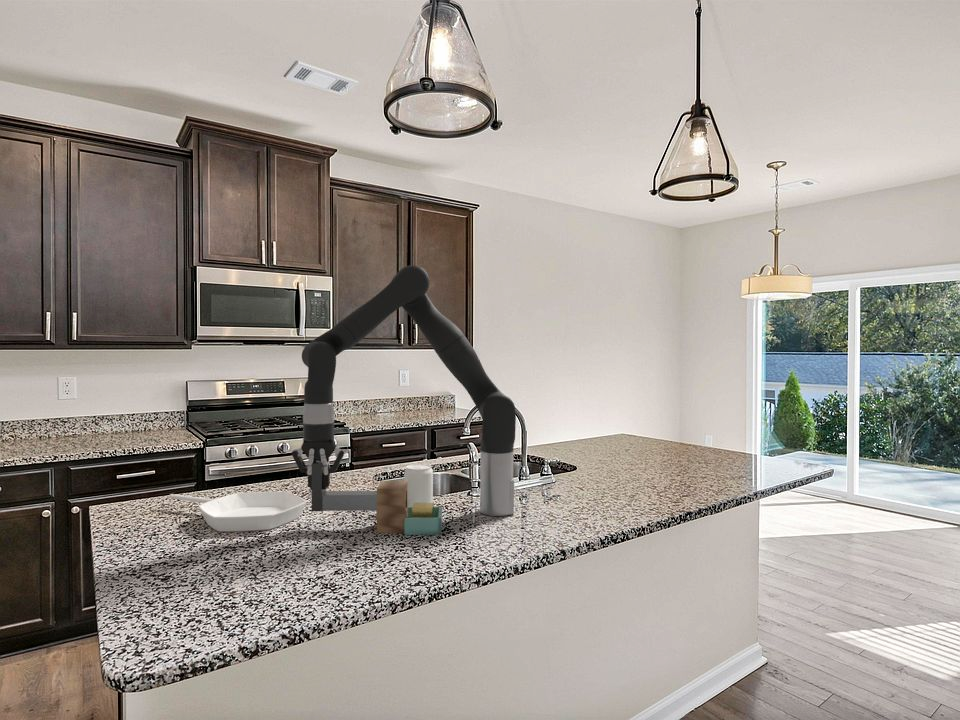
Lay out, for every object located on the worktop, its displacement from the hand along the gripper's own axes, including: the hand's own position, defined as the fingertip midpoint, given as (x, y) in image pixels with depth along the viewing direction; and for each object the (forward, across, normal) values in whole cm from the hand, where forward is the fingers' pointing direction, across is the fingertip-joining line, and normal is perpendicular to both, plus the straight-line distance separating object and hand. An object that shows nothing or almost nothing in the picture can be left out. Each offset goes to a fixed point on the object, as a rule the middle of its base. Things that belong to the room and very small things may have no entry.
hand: (318, 488), depth 152 cm
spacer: (+7, -24, 0) cm, 25 cm away
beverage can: (+10, -24, -18) cm, 32 cm away
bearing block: (+10, -19, 0) cm, 21 cm away
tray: (+10, -27, 0) cm, 28 cm away
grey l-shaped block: (+5, -9, 0) cm, 11 cm away
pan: (+10, +27, -11) cm, 31 cm away
